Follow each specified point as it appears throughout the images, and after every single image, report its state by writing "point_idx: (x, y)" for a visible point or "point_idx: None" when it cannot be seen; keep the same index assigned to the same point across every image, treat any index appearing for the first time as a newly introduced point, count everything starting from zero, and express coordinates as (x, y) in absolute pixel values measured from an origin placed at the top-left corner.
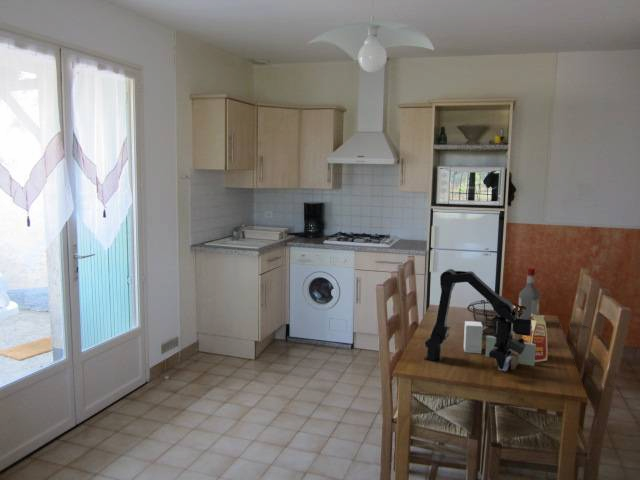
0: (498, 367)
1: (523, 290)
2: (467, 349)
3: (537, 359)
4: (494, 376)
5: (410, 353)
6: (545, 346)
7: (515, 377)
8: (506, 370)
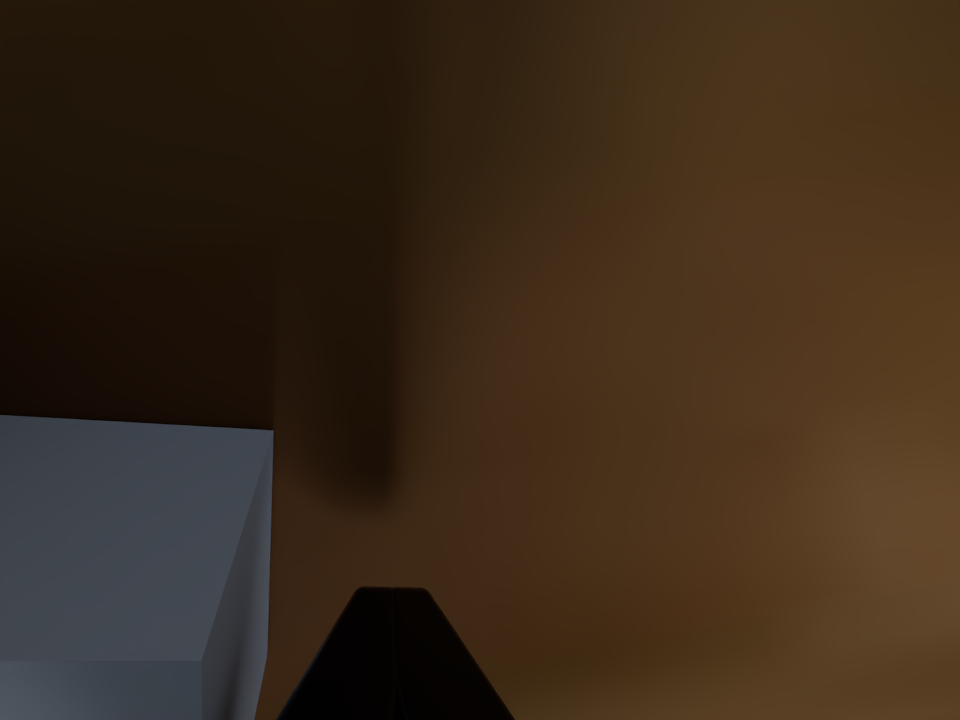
0: (255, 709)
1: None
2: None
3: None
4: (850, 621)
5: None
6: None
7: (761, 33)
8: (238, 436)
